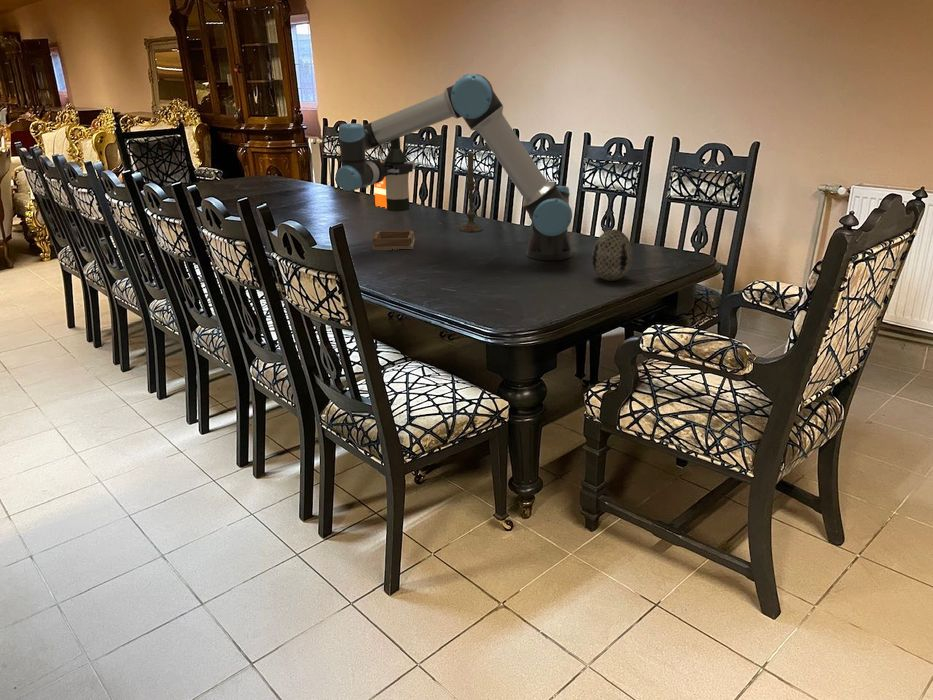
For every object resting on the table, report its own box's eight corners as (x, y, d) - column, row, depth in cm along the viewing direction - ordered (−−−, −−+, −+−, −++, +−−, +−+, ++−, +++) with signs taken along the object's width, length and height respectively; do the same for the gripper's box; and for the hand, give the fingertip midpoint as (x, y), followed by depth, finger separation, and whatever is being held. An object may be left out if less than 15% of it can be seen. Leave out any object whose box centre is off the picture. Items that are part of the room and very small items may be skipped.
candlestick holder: (456, 231, 268) (454, 151, 257) (464, 226, 276) (463, 149, 264) (478, 233, 265) (477, 152, 253) (486, 228, 273) (486, 149, 261)
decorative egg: (582, 277, 207) (585, 227, 202) (616, 272, 211) (619, 224, 206) (604, 287, 197) (607, 236, 192) (638, 283, 201) (642, 232, 196)
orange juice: (388, 203, 325) (386, 160, 318) (400, 206, 319) (397, 161, 312) (375, 206, 321) (372, 161, 313) (386, 208, 315) (383, 163, 307)
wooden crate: (412, 249, 242) (411, 239, 241) (372, 250, 242) (371, 239, 241) (415, 240, 255) (414, 230, 254) (377, 240, 255) (376, 230, 254)
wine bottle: (406, 212, 239) (402, 121, 228) (383, 211, 241) (378, 120, 229) (412, 207, 247) (409, 119, 235) (390, 206, 248) (386, 119, 237)
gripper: (342, 182, 228) (376, 173, 247) (399, 186, 220) (429, 176, 240) (341, 159, 225) (375, 151, 244) (398, 162, 218) (429, 154, 237)
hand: (402, 164), depth 242 cm, fingers closed on wine bottle, 8 cm apart
